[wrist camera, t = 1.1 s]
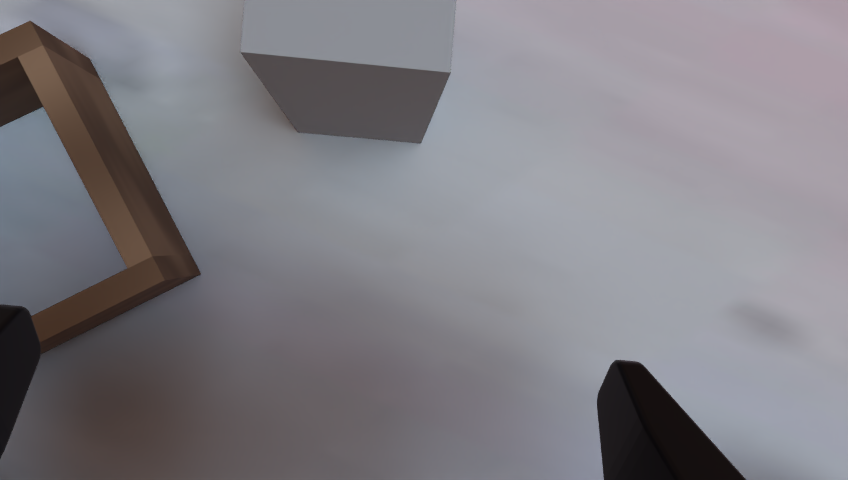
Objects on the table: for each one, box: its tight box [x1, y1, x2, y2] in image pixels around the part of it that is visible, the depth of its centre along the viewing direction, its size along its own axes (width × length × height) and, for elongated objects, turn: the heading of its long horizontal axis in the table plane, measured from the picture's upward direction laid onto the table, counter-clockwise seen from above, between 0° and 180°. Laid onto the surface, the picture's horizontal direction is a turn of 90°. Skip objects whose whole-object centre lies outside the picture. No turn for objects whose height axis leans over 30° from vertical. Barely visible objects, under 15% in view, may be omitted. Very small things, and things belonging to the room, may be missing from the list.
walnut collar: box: [0, 21, 201, 354], centre depth 21 cm, size 9×9×4 cm
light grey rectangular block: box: [240, 0, 456, 143], centre depth 19 cm, size 4×4×10 cm
